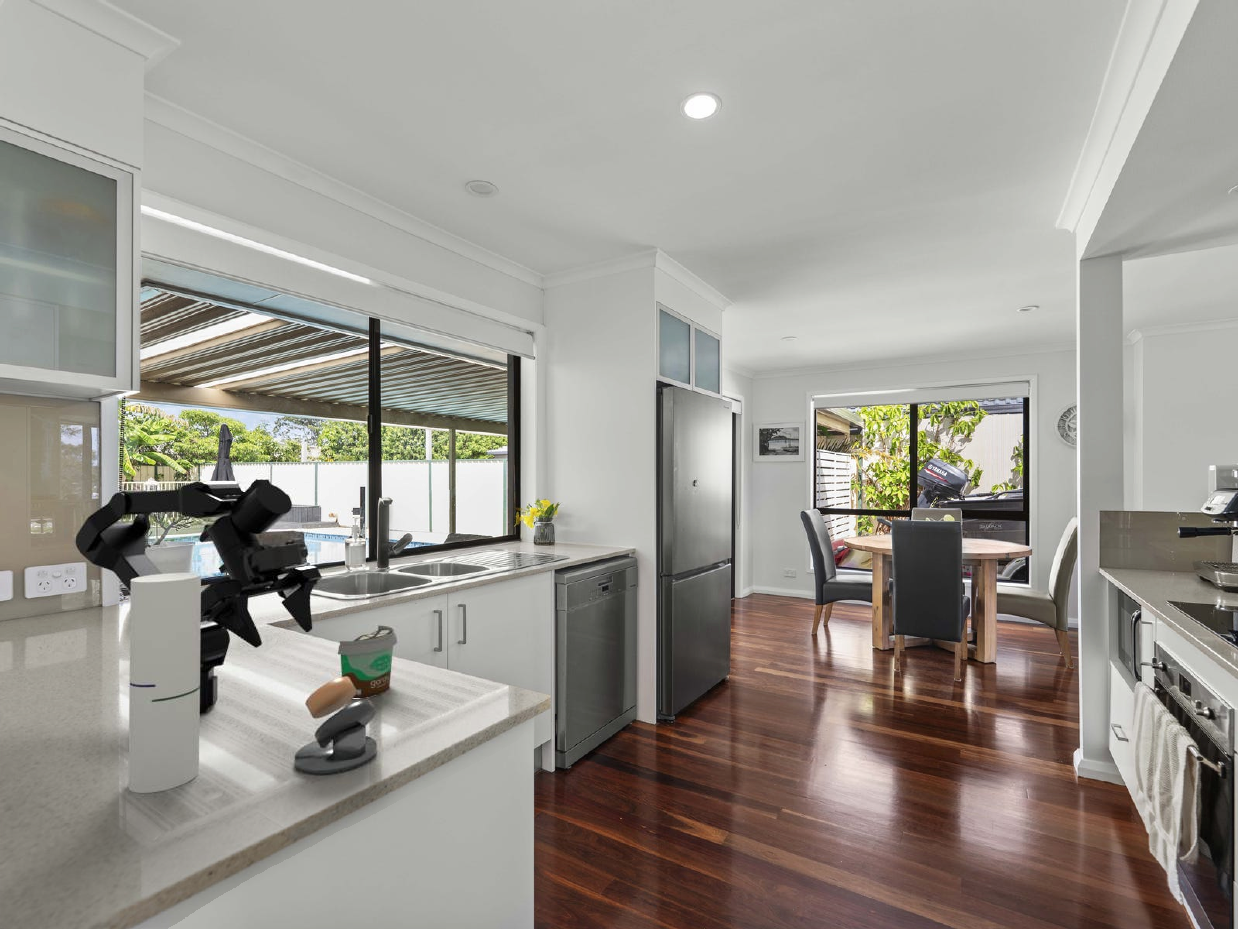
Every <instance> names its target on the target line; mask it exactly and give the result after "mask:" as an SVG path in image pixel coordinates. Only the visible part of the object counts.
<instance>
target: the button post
mask: <svg viewBox="0 0 1238 929" xmlns="http://www.w3.org/2000/svg"><path fill="white" fill-rule="evenodd" d="M376 714H377V710H376V708H375V706H374V705H373V703H372V702H371V700H370V699H360V700H359V701H356V702H353V703H351V704H349V705H347V706H345V707H343V708H342V709H340V710H339V711H337V712H336V713H333V715H331V716H330V717H329V718H327V719H326V720H325V721H324V722H323V723H321V725H319V727H318V728H317V729H316V731H315V733H314V737H315V739H316V740H314V741H312V742H309V743H307V744H306V745H304V746H302V747H301V748H300V749H299V750H297V751H296V753H295V755H294V767H295V769H296V770H297V772H300V773H302V774H306V775H309V776H310V775H312V776H328V775H335V774H336V775H337V774H340V773H345V772H350V771H353V770H355V769H358V768H360V767H362V766H364V765H367V764H368V763H369V762H370V761H372V760H373V759H374V758H375V756H376V755H377V749H378V748H377V741H376V739H374V738H373V737H371V736H368V735H367V727H366V726H367V725H368V724H369V723H370V722H371V721H372V720H373V719H374V718H375V716H376Z"/></svg>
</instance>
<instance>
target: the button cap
mask: <svg viewBox="0 0 1238 929" xmlns="http://www.w3.org/2000/svg"><path fill="white" fill-rule="evenodd" d="M356 692H357V691H356V689H355V687H354V685H353V683H352V682H351V680H350V678H349V677H342V676H341V677H338V678H335V679H333V680H331V681H328V682H326V683H325V684H323V685H322V686H320V687H318V688H317V689H316V690H315V691H314V692H312V693H311V694H310V695H309V697H307V699H306V700H305V706H306V708H307V710H308V712H309V713H310V715H311V717H312V718H313V719H315V720H316V719H321V718H323V717H327V716H329V715H331V714H332V713H333V714H334V712H336V711H338V710H339V709H340V710H341V708H342V707H343V708H344V706H346V705H347V704H348V703H349V702H350V701H352V700H353V699H352V698H353V697H354V696H355V694H356ZM351 699H352V700H351Z"/></svg>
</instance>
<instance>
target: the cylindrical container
mask: <svg viewBox="0 0 1238 929" xmlns="http://www.w3.org/2000/svg"><path fill="white" fill-rule="evenodd" d="M201 590H202V574H201V573H197V572H172V573H170V572H169V573H162V574H156V575H148V576H142V577H137V578H133V579H131V592H130V606H129V607H130V616H129V617H130V619H129V620H130V623H129V625H130V626H129V627H130V628H129V632H130V633H129V634H130V636H129V691H128V693H129V695H128V696H129V697H128V698H129V699H128V700H129V703H128V706H129V709H128V712H129V713H128V721H129V724H128V725H129V726H128V776H127V777H128V779H127V780H128V781H127V782H128V783H127V784H128V785H127V786H128V787H127V788H128V790H129V791H130V790H131V792H132V793H135V794H151V793H157V792H164V791H168V790H171V789H175V788H177V787H180V786H182V785H184V784H186V783H188V782H191V781H192V780H193V779H195V778H196V777H197V776H198V775H199V772H200V715H201V714H200V618H201V592H202V591H201Z"/></svg>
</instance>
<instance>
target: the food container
mask: <svg viewBox="0 0 1238 929" xmlns="http://www.w3.org/2000/svg"><path fill="white" fill-rule="evenodd" d="M377 628H378V629H377V630H376V631H374V632H372V633H369V634H362V635H360V636H358V637H357V638H355V639H353V640H350V641H349V640H348V641H346V640H340V641H339V645H338V651H337V655H340V670H341V677H349V678H350V680H351V682H352V683H353V685H354V687H355V689H356V691H357V692H356V694H355V696H354V697H353V698H364V699H368V698H367V697H370V698H372V697H371V696H374V695H378V696H379V695H382V694H381V693H383V692H385V691H386V692H387V690H388V689H389V690H390V686H391V674H392V661H393V653H394V652H393V650H394V646H395V645H396V644H398V639H397V635H396V632H395V630H394V628H393V627H391V626H388V625H380V624H379V625H378V626H377ZM389 690H388V691H389ZM386 692H385V693H386ZM383 694H384V693H383ZM374 697H375V696H374Z"/></svg>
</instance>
